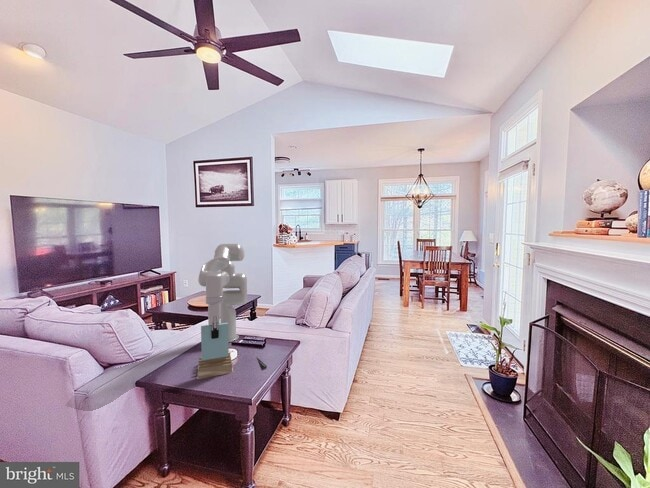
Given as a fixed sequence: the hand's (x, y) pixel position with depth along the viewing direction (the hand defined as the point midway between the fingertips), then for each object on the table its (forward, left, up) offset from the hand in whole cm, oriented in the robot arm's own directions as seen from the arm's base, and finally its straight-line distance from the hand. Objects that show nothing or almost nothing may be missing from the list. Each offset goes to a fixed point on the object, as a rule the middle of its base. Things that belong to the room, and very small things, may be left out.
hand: (215, 337), depth 133 cm
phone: (-4, +19, -19) cm, 27 cm away
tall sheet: (0, 0, -10) cm, 10 cm away
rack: (-5, 0, -19) cm, 19 cm away
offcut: (-3, 0, -18) cm, 18 cm away
